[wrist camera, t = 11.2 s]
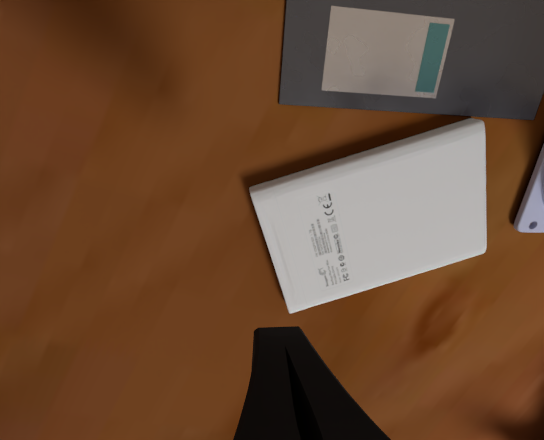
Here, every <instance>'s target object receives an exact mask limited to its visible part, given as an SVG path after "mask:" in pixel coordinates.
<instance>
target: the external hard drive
mask: <svg viewBox="0 0 544 440" xmlns="http://www.w3.org/2000/svg"><path fill="white" fill-rule="evenodd" d="M485 140H486V136H485V126H484V122H483V121H482V120H478V119H473V118H468V119H465V120H462V121H459V122H456V123H452V124H449V125H446V126H443V127H439V128H436V129H433V130H430V131H427V132H424V133H421V134H418V135H414V136H411V137H408V138H405V139H402V140H398V141H395V142H392V143H389V144H386V145H382V146H379V147H376V148H373V149H370V150H367V151H363V152H360V153H357V154H353V155H350V156H347V157H344V158H341V159H338V160H334V161H331V162H328V163H325V164H322V165H318V166H315V167H312V168H309V169H306V170H303V171H299V172H296V173H293V174H290V175H287V176H283V177H280V178H277V179H274V180H271V181H267V182H264V183H261V184H257V185H254V186H251V187H249V191H250V195H251V199H252V202H253V205H254V207H255V211H256V213H257V216H258V219H259V222H260V226H261V228H262V231H263V234H264V237H265V240H266V244H267V247H268V250H269V252H270V256H271V259H272V262H273V265H274V268H275V271H276V274H277V277H278V280H279V283H280V286H281V289H282V292H283V296H284V299H285V302H286V305H287V308H288V311H289V313H294V312H297V311H300V310H304V309H307V308H309V307H313V306H316V305H319V304H323V303H326V302H329V301H332V300H336V299H339V298H342V297H346V296H349V295H352V294H355V293H358V292H362V291H365V290H368V289H371V288H375V287H377V286H381V285H384V284H387V283H391V282H394V281H397V280H400V279H403V278H407V277H410V276H413V275H416V274H420V273H423V272H426V271H430V270H433V269H436V268H439V267H442V266H445V265H448V264H452V263H455V262H458V261H461V260H464V259H467V258H470V257H474V256H477V255H480V254H483V253H485V251H486V247H487V239H486V236H487V232H486V228H487V227H486V141H485Z"/></svg>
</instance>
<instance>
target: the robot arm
mask: <svg viewBox="0 0 544 440" xmlns="http://www.w3.org/2000/svg"><path fill="white" fill-rule="evenodd" d="M530 223H531V224H530ZM514 228H515V229H516V230H517V231H519V232H543V233H544V144H543V147H542V150H541V152H540V155H539V158H538V160H537V163H536V166H535V168H534V171H533V174H532V176H531V179H530V182H529V184H528V187H527V190H526V192H525V195H524V198H523V200H522V203H521V206H520V208H519V211H518V214H517V216H516V219H515V222H514ZM233 440H391V439H390V438H389V437H388V436H387V435H386V434H385V433H384V432H383V431H382V430H381V429H380V428H379V427H378V426H377V425H376V424H375V423H374V422H373V421H372V420H371V419H370V417H369V416H368V415H367V414H366V413H365V412H364V411H363V410H362V409H361V407H360V406H359V405H358V404H357V403H356V402H355V400H354V399H353V398H352V397H351V396H350V395H349V393H348V392H347V391H346V390H345V389H344V387H343V386H342V385H341V384H340V382H339V381H338V380H337V378H336V377H335V376H334V375H333V373H332V372H331V371H330V370H329V368H328V367H327V366H326V364H325V363H324V361H323V360H322V359H321V357H320V356H319V355H318V353H317V352H316V350H315V349H314V347H313V346H312V345H311V343H310V342H309V340H308V339H307V337H306V336H305V334H304V333H303V331H302V330H301V329H300V328H299V327H268V328H257V329H256V330H255V331H254V340H253V357H252V372H251V377H250V382H249V387H248V391H247V395H246V399H245V402H244V406H243V410H242V413H241V417H240V420H239V424H238V427H237V430H236V433H235V436H234V439H233Z"/></svg>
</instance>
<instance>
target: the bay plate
mask: <svg viewBox="0 0 544 440" xmlns="http://www.w3.org/2000/svg"><path fill="white" fill-rule="evenodd" d="M543 93H544V0H286V13H285V26H284V40H283V54H282V68H281V82H280V96H279V104H286V105H302V106H318V107H333V108H349V109H365V110H381V111H397V112H413V113H429V114H445V115H461V116H477V117H493V118H509V119H524V120H534V118H535V115H536V112H537V109H538V107H539V104H540V101H541V98H542V95H543Z"/></svg>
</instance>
